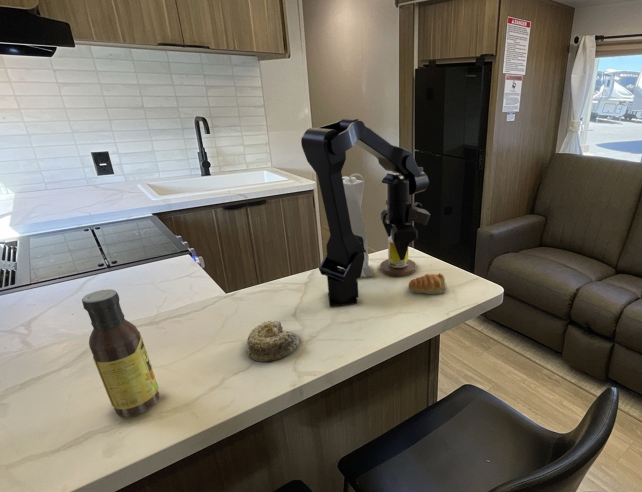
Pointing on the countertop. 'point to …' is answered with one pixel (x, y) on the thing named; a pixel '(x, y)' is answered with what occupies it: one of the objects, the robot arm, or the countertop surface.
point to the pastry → (428, 284)
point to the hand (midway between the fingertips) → (398, 253)
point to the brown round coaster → (398, 269)
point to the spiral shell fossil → (270, 342)
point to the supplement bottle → (395, 256)
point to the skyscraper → (357, 214)
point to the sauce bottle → (120, 356)
